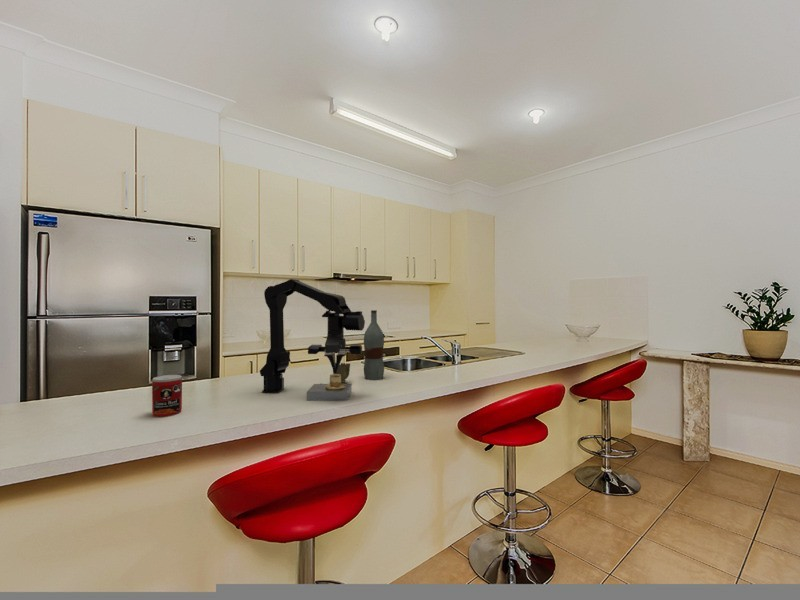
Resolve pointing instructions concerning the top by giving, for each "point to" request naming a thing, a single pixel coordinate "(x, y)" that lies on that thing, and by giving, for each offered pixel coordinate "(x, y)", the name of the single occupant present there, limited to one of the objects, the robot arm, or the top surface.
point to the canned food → (166, 395)
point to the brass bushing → (335, 382)
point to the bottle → (373, 350)
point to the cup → (343, 371)
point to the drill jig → (328, 393)
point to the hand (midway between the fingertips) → (335, 373)
